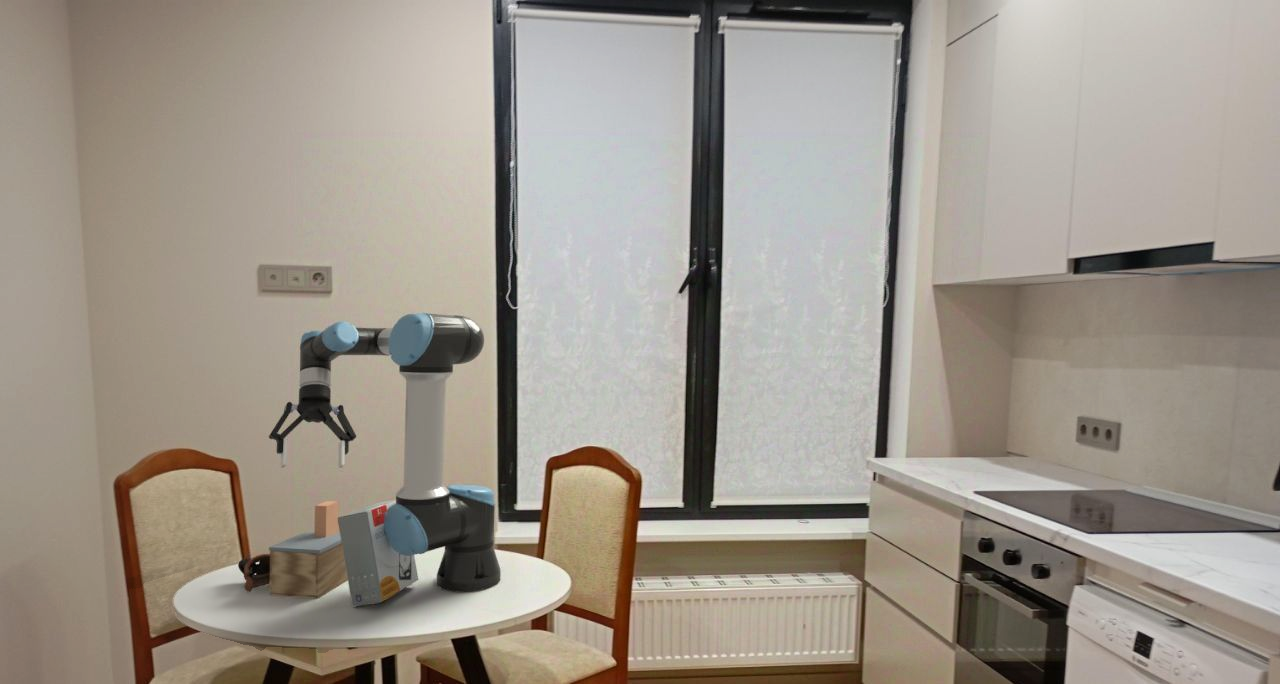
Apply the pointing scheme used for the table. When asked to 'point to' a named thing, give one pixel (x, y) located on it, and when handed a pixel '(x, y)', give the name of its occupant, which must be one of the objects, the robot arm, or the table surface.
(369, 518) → the hard drive box
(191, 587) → the table surface
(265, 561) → the pottery mug
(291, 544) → the lid
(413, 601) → the table surface
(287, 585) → the carton
